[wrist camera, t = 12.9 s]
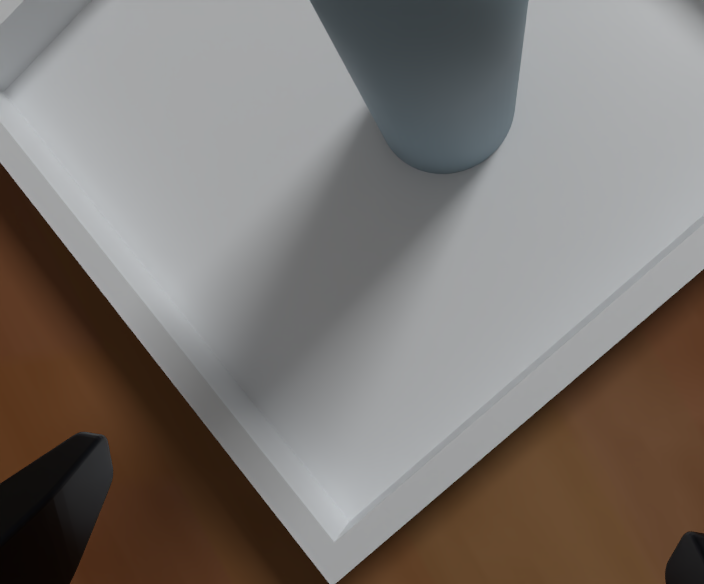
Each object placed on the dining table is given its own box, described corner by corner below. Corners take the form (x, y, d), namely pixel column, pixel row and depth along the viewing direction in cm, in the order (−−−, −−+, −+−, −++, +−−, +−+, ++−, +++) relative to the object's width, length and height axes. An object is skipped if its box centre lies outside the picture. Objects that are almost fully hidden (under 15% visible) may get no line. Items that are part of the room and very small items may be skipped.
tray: (900, 83, 17) (971, 39, 14) (350, 554, 19) (332, 586, 16) (402, -332, 20) (392, -423, 18) (-12, 98, 23) (-72, 70, 20)
